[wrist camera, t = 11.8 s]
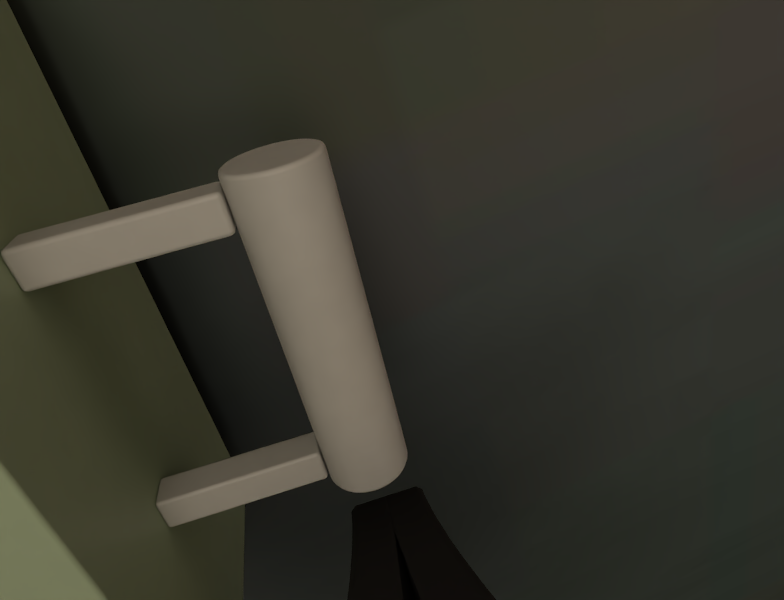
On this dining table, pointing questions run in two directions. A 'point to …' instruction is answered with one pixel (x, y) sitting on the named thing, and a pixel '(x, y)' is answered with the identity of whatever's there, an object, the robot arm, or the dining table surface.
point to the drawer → (160, 362)
